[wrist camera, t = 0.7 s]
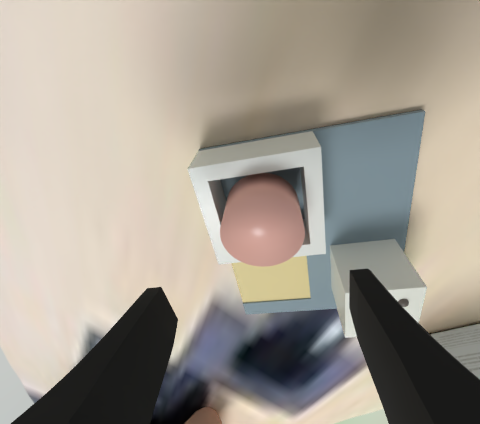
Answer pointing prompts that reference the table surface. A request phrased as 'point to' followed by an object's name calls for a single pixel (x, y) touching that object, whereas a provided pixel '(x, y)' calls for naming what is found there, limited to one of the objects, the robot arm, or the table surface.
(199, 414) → the medical training model
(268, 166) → the collar
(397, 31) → the table surface
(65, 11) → the table surface
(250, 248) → the button
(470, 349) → the supplement box
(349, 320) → the die
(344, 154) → the board
